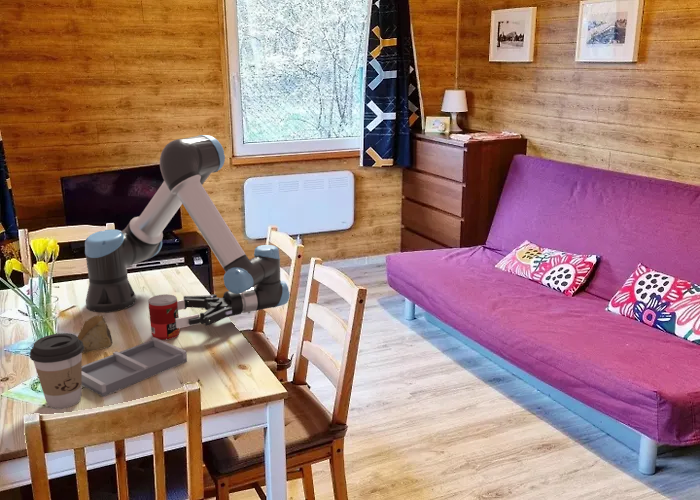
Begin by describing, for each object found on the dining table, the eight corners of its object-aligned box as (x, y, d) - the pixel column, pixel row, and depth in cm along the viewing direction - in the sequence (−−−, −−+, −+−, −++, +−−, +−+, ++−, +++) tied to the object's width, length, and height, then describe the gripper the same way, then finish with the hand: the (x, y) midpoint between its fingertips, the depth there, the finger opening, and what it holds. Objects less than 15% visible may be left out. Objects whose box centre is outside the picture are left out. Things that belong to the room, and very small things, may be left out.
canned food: (172, 341, 182) (169, 304, 179) (146, 339, 184) (142, 302, 181) (184, 330, 189) (181, 295, 186) (159, 328, 191) (156, 293, 188)
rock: (67, 352, 170) (106, 344, 172) (63, 321, 173) (102, 313, 175) (79, 360, 180) (116, 352, 182) (75, 331, 183) (112, 323, 185)
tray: (72, 379, 161) (70, 368, 160) (155, 347, 178) (154, 337, 178) (102, 396, 152) (101, 385, 151) (187, 361, 170) (186, 350, 169)
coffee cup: (51, 419, 143) (41, 356, 138) (28, 402, 150) (19, 342, 146) (100, 399, 151) (92, 340, 147) (76, 384, 158) (68, 327, 154)
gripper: (256, 326, 186) (183, 343, 176) (225, 300, 207) (158, 314, 196) (255, 302, 184) (181, 317, 174) (223, 278, 205) (156, 290, 194)
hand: (169, 315), depth 185 cm, fingers open, 13 cm apart
